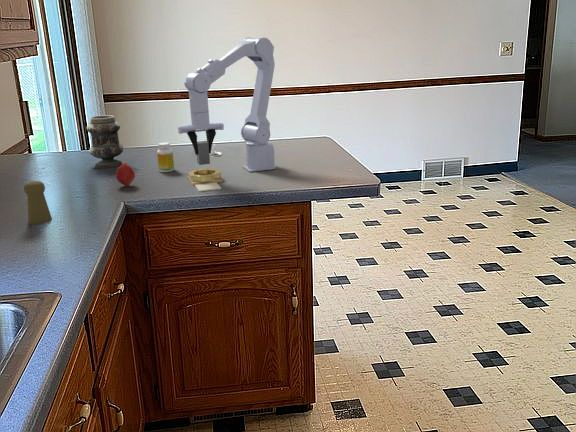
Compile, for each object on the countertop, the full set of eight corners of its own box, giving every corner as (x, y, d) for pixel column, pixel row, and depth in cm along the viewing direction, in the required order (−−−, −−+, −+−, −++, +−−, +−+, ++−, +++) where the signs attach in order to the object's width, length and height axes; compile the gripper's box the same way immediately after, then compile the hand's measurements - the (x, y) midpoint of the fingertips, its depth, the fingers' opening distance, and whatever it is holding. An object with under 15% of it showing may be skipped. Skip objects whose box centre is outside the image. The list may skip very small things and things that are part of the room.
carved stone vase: (123, 159, 230) (118, 112, 224) (126, 166, 219) (120, 117, 213) (91, 162, 226) (84, 115, 221) (91, 170, 216) (84, 120, 210)
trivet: (216, 183, 193) (216, 182, 192) (221, 189, 186) (221, 187, 186) (195, 186, 190) (194, 184, 190) (199, 191, 184) (199, 190, 184)
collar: (216, 172, 203) (216, 167, 202) (223, 179, 194) (222, 174, 193) (187, 175, 200) (186, 170, 199) (192, 183, 191) (192, 177, 190)
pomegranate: (119, 189, 190) (116, 165, 187) (115, 185, 195) (112, 161, 192) (137, 186, 192) (134, 162, 190) (133, 182, 197) (130, 159, 194)
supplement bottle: (170, 172, 208) (168, 145, 205) (156, 172, 209) (153, 145, 206) (176, 168, 213) (174, 141, 210) (162, 168, 214) (159, 141, 211)
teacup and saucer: (201, 153, 238) (200, 143, 236) (221, 152, 238) (221, 142, 237) (201, 158, 229) (200, 147, 228) (221, 157, 230) (221, 146, 229)
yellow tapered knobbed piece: (32, 218, 165) (25, 179, 162) (54, 216, 166) (48, 178, 162) (25, 225, 160) (17, 185, 156) (48, 223, 160) (41, 184, 156)
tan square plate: (216, 174, 203) (216, 172, 203) (223, 181, 194) (223, 179, 194) (187, 178, 200) (187, 175, 200) (192, 185, 191) (192, 183, 191)
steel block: (207, 161, 198) (206, 140, 196) (209, 163, 195) (208, 142, 192) (197, 162, 197) (195, 141, 194) (199, 164, 194) (197, 143, 191)
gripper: (219, 108, 196) (222, 148, 200) (174, 111, 191) (178, 153, 196) (224, 111, 189) (226, 153, 194) (178, 114, 185) (182, 157, 189)
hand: (203, 153), depth 194 cm, fingers closed on steel block, 3 cm apart
